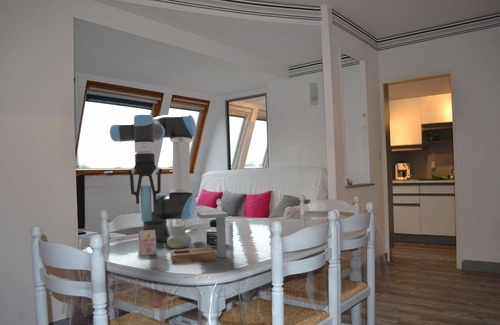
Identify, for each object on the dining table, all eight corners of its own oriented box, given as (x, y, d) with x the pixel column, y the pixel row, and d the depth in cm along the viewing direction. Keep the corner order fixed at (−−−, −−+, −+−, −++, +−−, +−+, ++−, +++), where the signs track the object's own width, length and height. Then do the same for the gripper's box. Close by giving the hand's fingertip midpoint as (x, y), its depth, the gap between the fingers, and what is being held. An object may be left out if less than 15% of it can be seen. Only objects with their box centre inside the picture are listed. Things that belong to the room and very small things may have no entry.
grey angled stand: (198, 254, 161) (196, 211, 161) (222, 252, 163) (220, 210, 164) (202, 261, 147) (201, 214, 148) (228, 259, 150) (227, 213, 150)
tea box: (138, 254, 165) (137, 230, 166) (154, 252, 168) (154, 229, 169) (139, 256, 162) (139, 231, 162) (156, 254, 165) (155, 230, 165)
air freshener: (163, 249, 176) (163, 226, 176) (172, 245, 184) (172, 224, 184) (186, 249, 173) (185, 226, 173) (194, 246, 181) (193, 224, 181)
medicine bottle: (206, 246, 179) (205, 220, 179) (213, 243, 185) (213, 218, 186) (220, 247, 176) (219, 220, 176) (227, 244, 183) (226, 218, 183)
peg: (141, 220, 159) (140, 185, 159) (152, 219, 160) (150, 185, 160) (141, 221, 155) (140, 186, 155) (152, 220, 156) (150, 185, 156)
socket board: (170, 257, 157) (170, 250, 157) (210, 254, 161) (210, 246, 161) (172, 263, 145) (172, 255, 145) (215, 260, 149) (215, 252, 149)
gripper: (121, 153, 152) (123, 214, 152) (166, 152, 156) (168, 211, 156) (122, 154, 159) (124, 212, 159) (165, 153, 164) (167, 209, 163)
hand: (146, 211), depth 157 cm, fingers closed on peg, 4 cm apart
